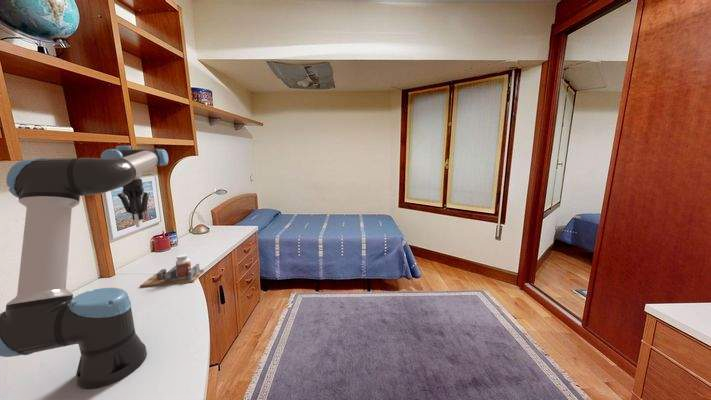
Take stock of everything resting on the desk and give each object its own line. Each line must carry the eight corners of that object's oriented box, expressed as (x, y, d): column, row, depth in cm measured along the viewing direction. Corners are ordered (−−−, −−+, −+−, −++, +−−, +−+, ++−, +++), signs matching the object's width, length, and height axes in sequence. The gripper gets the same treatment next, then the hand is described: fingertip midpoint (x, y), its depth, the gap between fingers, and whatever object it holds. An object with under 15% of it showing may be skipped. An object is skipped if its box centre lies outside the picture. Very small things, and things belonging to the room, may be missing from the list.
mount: (193, 282, 128) (192, 272, 128) (140, 287, 124) (138, 277, 123) (203, 271, 141) (202, 262, 140) (155, 275, 137) (154, 266, 136)
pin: (172, 278, 131) (172, 274, 131) (156, 279, 130) (155, 275, 129) (175, 275, 134) (175, 271, 134) (159, 277, 133) (158, 273, 132)
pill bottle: (192, 276, 132) (189, 256, 131) (177, 279, 129) (174, 258, 127) (191, 272, 138) (189, 252, 136) (177, 275, 134) (174, 255, 132)
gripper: (151, 177, 129) (158, 223, 132) (121, 178, 126) (129, 225, 130) (141, 178, 121) (149, 227, 125) (110, 179, 119) (119, 229, 123)
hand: (139, 226), depth 128 cm, fingers closed
